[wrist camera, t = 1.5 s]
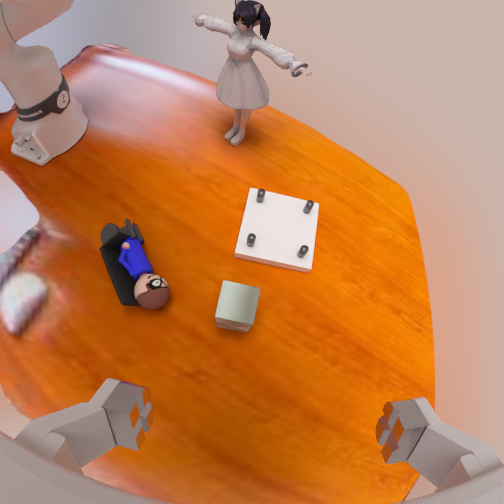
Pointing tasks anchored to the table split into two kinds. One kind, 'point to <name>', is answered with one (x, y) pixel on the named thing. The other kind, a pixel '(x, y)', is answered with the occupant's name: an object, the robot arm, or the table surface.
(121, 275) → the character figurine
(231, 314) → the sage block
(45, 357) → the table surface
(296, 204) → the display base
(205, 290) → the table surface
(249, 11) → the figurine
